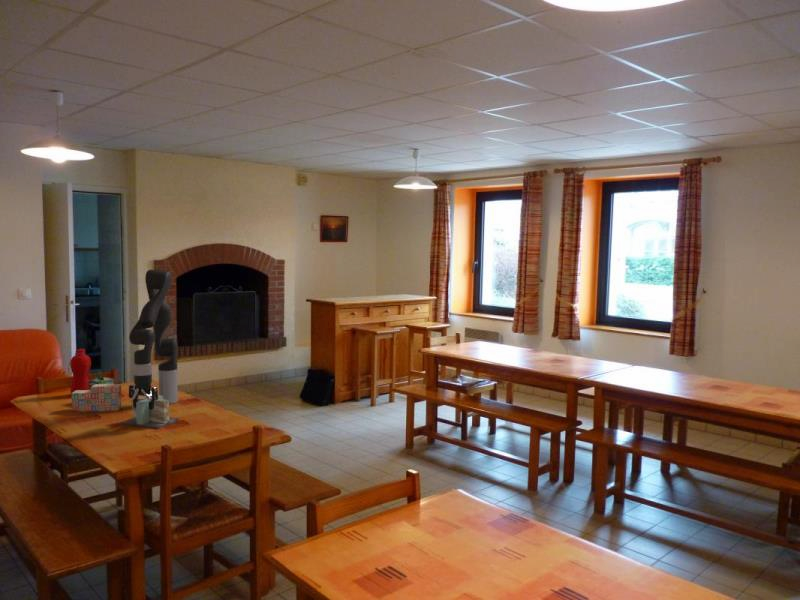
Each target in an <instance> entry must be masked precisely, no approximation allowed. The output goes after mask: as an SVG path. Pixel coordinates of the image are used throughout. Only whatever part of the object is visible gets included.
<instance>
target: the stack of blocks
mask: <svg viewBox="0 0 800 600" xmlns="http://www.w3.org/2000/svg"><path fill="white" fill-rule="evenodd" d="M70 395H71V396H70V397H71V412H72V411H74V412H79V411H81V412H82V411H83V412H118V411H119V410H120V409H122V384H119V383H118V384H117V383H116V384H115V383H114V384H95V385H93V386H92V387H91V390H76V391H74V392H73V393H71V392H70ZM117 410H118V411H117Z"/></svg>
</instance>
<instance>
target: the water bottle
mask: <svg viewBox="0 0 800 600" xmlns="http://www.w3.org/2000/svg"><path fill="white" fill-rule="evenodd" d="M68 365H69V366H68V368H67V370H68V371H67V372H68V373H70V374H72V381H71V386H70V394H71V393H73V392H74V391H76V390H89V382H88V381H89V380H91V378H90V371H91V366H92V361H91V357H90V356H88V355H87V354H86V349H84V348H79V349H75V352H74V355H73V356H72V357H71V359H70V361H69V363H68ZM69 368H70V370H71V372H70V370H69Z"/></svg>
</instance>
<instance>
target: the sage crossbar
mask: <svg viewBox="0 0 800 600" xmlns="http://www.w3.org/2000/svg"><path fill="white" fill-rule="evenodd" d="M158 399H163V396H160V395H159V394H158ZM152 410H153V409H152ZM149 411H151V410H149V400H148V399H145V400H142V401H138V402H136V414H137V424H140V425H143V424H145V423H148V422H149Z"/></svg>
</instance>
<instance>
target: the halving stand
mask: <svg viewBox="0 0 800 600" xmlns="http://www.w3.org/2000/svg"><path fill="white" fill-rule="evenodd" d="M137 399H138V401H142V400H145V399H147V398H146V397H145V396H139V397H138V398H137ZM131 403H132V406H131V407H132V417H131V418H129V419H127V420H123V421H121V424H122V425H126V424H127V425H128V426H133V425H135V427H140V426H143V428H148V427H149V428H148V429H155V428H156V430H160V429H161V427H162V428H164V427H166V425H167V426H169V425H172V424H174V423H177V422H179V421H180V418H177V417H170V404H169V400H164V399H158V400H155V401H154V408H153V410H151V411H149V422H148V423H145V424H143V425H140V424H137V414H136V408H134V407H133V400H132V399H131ZM176 421H177V422H176ZM171 423H172V424H171ZM163 426H164V427H163Z"/></svg>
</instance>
